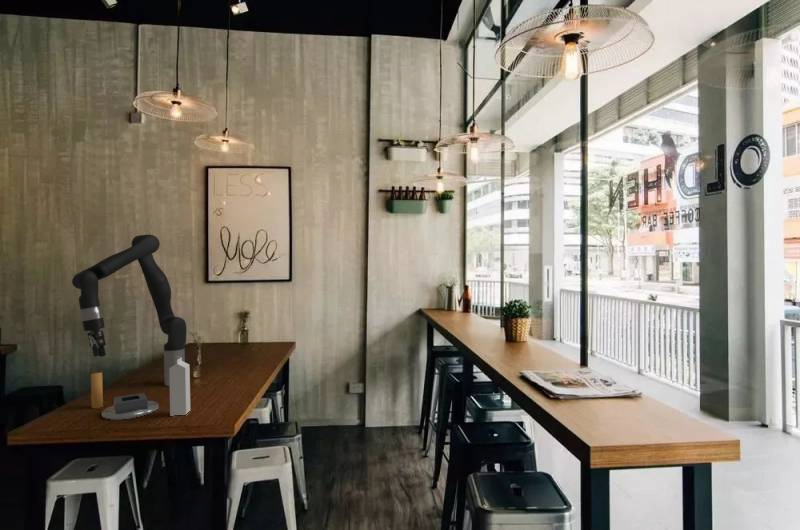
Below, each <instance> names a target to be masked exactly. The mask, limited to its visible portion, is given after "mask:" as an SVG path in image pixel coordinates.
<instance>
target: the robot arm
mask: <svg viewBox="0 0 800 530" xmlns="http://www.w3.org/2000/svg"><path fill="white" fill-rule="evenodd" d="M160 246H161V245H160V239H158V237H157V236H155V235H153V234H140V235H136V236H133V238H132V240H131V247H129V248H128V247H127V248H126V249H124V250H122V251H119V252H117V253H115V254H112V255H110V256H107V257H106V258H104V259H102V260H100V261H99V262H97V263H95V264H94V265H92V266H90V267H88V268H86V269H84V270H82V271H79V272H78V273H76V274H75V275H74V276H73V277H72V279H71V280H72V281H71V282H72V286H73V287H74V288H76V289H79V290H80V293H81V294H80V296H79V297H78V304H79V308H80V318H81V322H82V323H81V324H82V328H83V331H84V332H88V333H87V338H88V344H89V347H90V348H91V350H92V354H93V357H105V356H106V354H107V353H106V349H105V346H106V344H107V343H106V340H105V334H104V331H103V330H101V329H104V328H105V322H104V316H103V311H102V309H101V304H100V299H99V281H100V280H102V279H105V278H108V277H109V276H111V275H113V274H115V273H116V272H117V271H120V270H121V269H122V268H124V267H126V266H128V265H130V264H131V263H133V262H136V261H137V262H138V263H139V264H138V265H139V266H140V269H141V272H142V275H143V277H144V279H145V282H146V286H147V288H148V291H149V294H150V296H151V299H152V303H153V305H154V307H155V310H156V314H157V318H158V324H159V327H160V329H161V332H162V333H163V334H165V335H167V342H166V343H164V345H163V367H164V368H163V370H164V376H163V377H164V381H163V382H164V386H166V387H170V379H169V368H171V367H172V366H174V365H175V364H177V360H178V359H179V358H181V357H182V361H183V362H185V363H186V361H185V360H186V355H185V352H186V351H185V348H186V347H185V346H186V343H187V323H186V321H185V320H184V318H182V317H179V316H176V315H175V313H174V311H173V309H172V302H171V300H172V299H171V298H172V290H171V286H170V282H169V279H168V278H167V275H166V273H165V272H164V271H163V270H162V269H161V267H160V266H159V265H158V264H157V262H156V261H155V258H154V255H153V254H154V253H156V252H157V251H159V249H160Z"/></svg>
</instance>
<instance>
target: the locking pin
mask: <svg viewBox="0 0 800 530" xmlns="http://www.w3.org/2000/svg"><path fill="white" fill-rule="evenodd" d="M90 393H91V395H90V397H91V401H90V402H91V409H93V408H95V409H100V407H101V408H103V407H104V399H103V397H104V395H103V394H104V392H103V372H94V373H93V372H92V373H91V374H90Z"/></svg>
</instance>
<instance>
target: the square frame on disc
mask: <svg viewBox="0 0 800 530" xmlns="http://www.w3.org/2000/svg"><path fill="white" fill-rule="evenodd" d="M157 409H158V410H159V403H158V402H157V401H153V400H148V397H147V395H146V394H145V392H141V393H135V394H128V395H127V394H126V395H122V396H114V397H113V405H111V406H109V407H106V408H104V409H103V410H102V411H101V418H102V417H103V418H105V419H104V420H107V419H110V420H109V421H122V420H123V419H126V420H131V419H132V418H133V419H137V418H136V417H138V418H141V417H140V416H142V417H145V416H144V415H146V416H148V415H147V414H149V415H151V414H153V413H152V412H154V411H155V412H157V411H158V410H157ZM156 410H157V411H156ZM155 412H154V413H155ZM150 413H151V414H150ZM103 418H102V419H103ZM123 421H124V420H123Z"/></svg>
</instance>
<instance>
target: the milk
mask: <svg viewBox="0 0 800 530" xmlns="http://www.w3.org/2000/svg"><path fill="white" fill-rule="evenodd" d="M190 371H191V369H190V364H189V363H187V362H186V361H185V362H183V361H182V357H181V358H179V359H178V360H177V364H175V365H174V366H172V367H171V368H169V379H170V386H169V416H173V417H175V416H174V415H186V414H187V413H188V412H189V411H190V412H191V380H190V377H191V376H190V375H191V374H190ZM190 412H189V413H190ZM189 413H188V414H189ZM188 414H187V415H188ZM187 415H186V416H187Z"/></svg>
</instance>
